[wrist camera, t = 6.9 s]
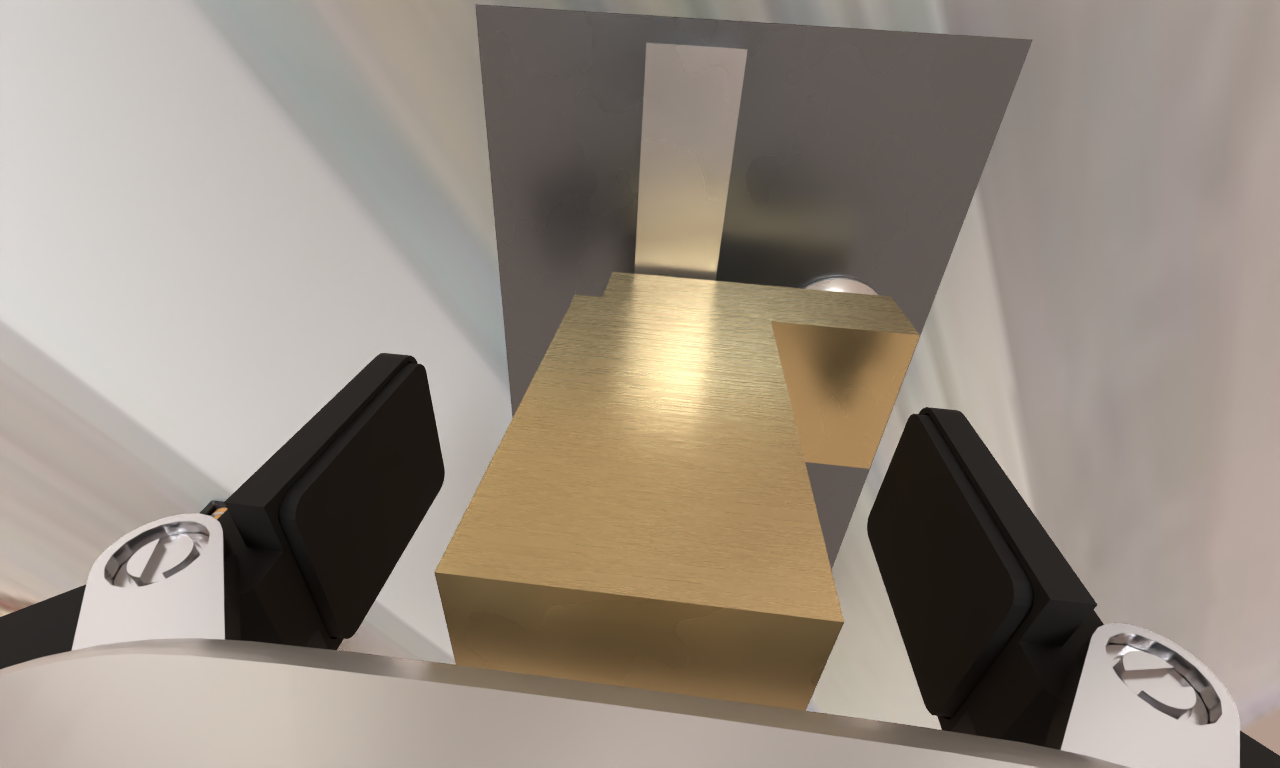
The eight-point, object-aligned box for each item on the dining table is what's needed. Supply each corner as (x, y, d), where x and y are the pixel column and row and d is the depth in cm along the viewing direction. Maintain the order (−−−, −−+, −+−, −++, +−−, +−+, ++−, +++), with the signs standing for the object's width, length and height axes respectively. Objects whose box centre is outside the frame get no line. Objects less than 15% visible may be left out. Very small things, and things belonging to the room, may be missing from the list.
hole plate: (492, 7, 13) (-304, -129, 3) (1005, 40, 12) (2516, 22, 2) (536, 573, 24) (414, 959, 14) (803, 605, 24) (880, 1035, 13)
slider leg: (600, 246, 14) (435, 572, 5) (879, 270, 14) (1186, 663, 5) (598, 376, 16) (477, 758, 7) (838, 400, 16) (1003, 832, 7)
